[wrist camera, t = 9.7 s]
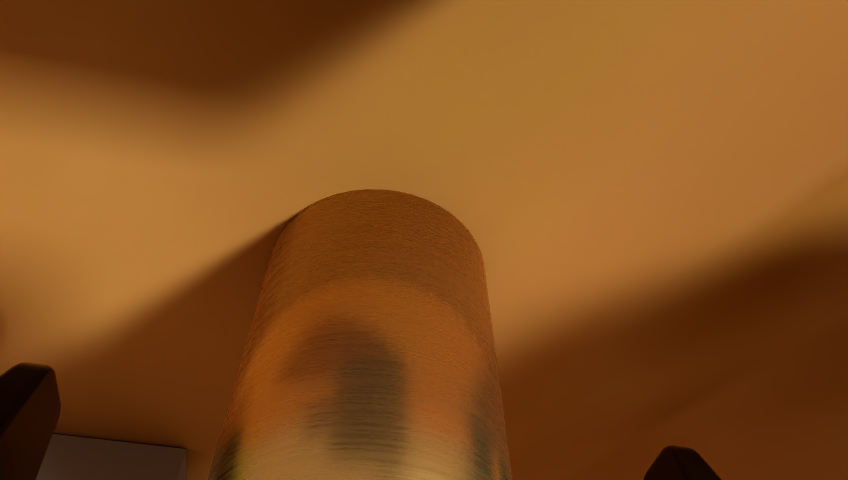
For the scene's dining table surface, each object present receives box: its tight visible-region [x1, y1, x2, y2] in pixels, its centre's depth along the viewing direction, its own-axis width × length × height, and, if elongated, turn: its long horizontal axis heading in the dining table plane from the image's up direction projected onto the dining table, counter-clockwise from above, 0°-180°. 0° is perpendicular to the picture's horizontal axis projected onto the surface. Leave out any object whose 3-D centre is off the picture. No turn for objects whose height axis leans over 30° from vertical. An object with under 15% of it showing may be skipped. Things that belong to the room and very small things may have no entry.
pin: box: [208, 190, 512, 480], centre depth 9 cm, size 4×4×7 cm
